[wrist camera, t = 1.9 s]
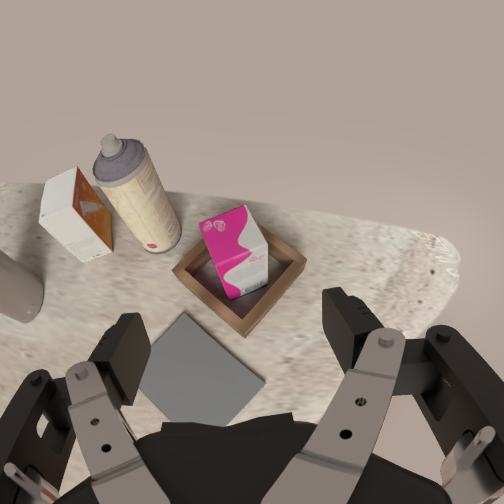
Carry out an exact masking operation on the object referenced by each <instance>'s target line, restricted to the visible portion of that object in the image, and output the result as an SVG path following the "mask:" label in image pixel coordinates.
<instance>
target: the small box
mask: <svg viewBox="0 0 504 504" xmlns="http://www.w3.org/2000/svg"><path fill="white" fill-rule="evenodd" d="M39 224H40V225H42V226H43V227H44V228H45V229H46V230H47V231H48V232H49V233H50V234H51V235H52V236H53V237H54V238H55V239H56V240H57V241H58V242H60V243H61V244H62V245H63V246H64V247H65V248H66V249H67V250H68V251H70V252H71V253H72V254H73V255H74V256H75V257H76V258H78V259H79V260H80V261H81V262H82V263H84V262H87V261H90V260H93V259H96V258H98V257H101V256H104V255H107V254H110V253H112V252H113V248H112V236H111V214H110V213H109V211H108V210H107V208H106V207H105V206H104V204H103V203H102V202H101V200H100V199H99V197H98V196H97V194H96V193H95V192H94V190H93V189H92V187H91V186H90V184H89V183H88V181H87V180H86V178H85V177H84V175H83V174H82V173H81V171H80V169H79V168H78V166H76V167H74V168H72V169H69V170H68V171H65V172H63V173H61V174H59V175H57V176H55V177H52V178H50V179H49V180H46V183H45V187H44V192H43V196H42V200H41V208H40V215H39Z"/></svg>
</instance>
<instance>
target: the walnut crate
mask: <svg viewBox="0 0 504 504" xmlns="http://www.w3.org/2000/svg"><path fill="white" fill-rule="evenodd" d="M235 209H236V208H235ZM256 224H257V223H256ZM257 225H258V227H259V229H260V231H261V232H262V234H263V236H264V238H265V239H266V241H267V243H268V254H270V255H271V256H272V257H274V258H275V259H276V260H278V261H279V262H280V263H282V264H283V265H285V266H286V267H287V269H286V270H285V272H284V273H283V274H282V275H281V276H280V277H279V279H278V280H277V281H276V282H275V283H274V284H273V285H272V287H271V288H270V289H269V290H268V291H267V292H266V293H265V295H264V296H263V297H262V298H261V299H260V300H259V301H258V303H257V304H256V305H255V306H254V307H253V308H252V309H251V310H250V312H249V313H248V314H247V315H246V316H245V317H244V318H243V319H241V318H240V317H238V316H237V315H236V314H235V313H234V312H232V311H231V310H230V309H229V308H228V307H226V306H225V305H224V304H223V303H222V302H221V301H219V300H218V299H217V298H216V297H215V296H214V295H213V294H211V293H210V292H209V291H208V290H207V289H206V288H204V287H203V286H202V285H201V284H200V283H199V282H198V281H197V280H195V279H194V278H193V276H194V275H195V274H196V273H197V272H198V271H199V270H200V269H201V268H202V267H203V266H204V265H205V264H206V263H207V262H208V260H209V259H210V258H211V256H210V253H209V251H208V248H207V245H206V243H205V240H204V239H203V240H202V241H201V242H200V243H199V244H198V245H197V246H195V247H194V248H193V249H192V250H191V251H190V252H189V253H188V254H187V255H186V256H185V257H184V258H183V259H182V260H181V261H180V262H179V263H178V264H177V265H176V266H175V267H174V268H173V269H172V271H173V273H174V274H175V276H176V277H177V278H178V280H179V281H180V282H181V283H183V284H184V285H185V286H186V287H187V288H188V289H189V290H190V291H191V292H192V293H193V294H195V295H196V296H197V297H198V298H199V299H200V300H201V301H202V302H203V303H205V304H206V305H207V306H208V307H209V308H210V309H211V310H212V311H214V312H215V313H216V314H217V315H218V316H219V317H220V318H222V319H223V320H224V321H225V322H226V323H227V324H229V325H230V326H231V327H232V328H233V329H234V330H236V331H237V332H238V333H239V334H240V335H242V336H243V337H244V338H246V337H247V336H248V334H249V333H250V332H251V331H252V330H253V329H254V328H255V326H256V325H257V324H258V323H259V322H260V321H261V320H262V318H263V317H264V316H265V315H266V314H267V313H268V312H269V310H270V309H271V308H272V307H273V306H274V305H275V303H276V302H277V301H278V300H279V299H280V298H281V296H282V295H283V294H284V293H285V292H286V290H287V289H288V288H289V287H290V286H291V284H292V283H293V282H294V281H295V280H296V278H297V277H298V276H299V275H300V274H301V272H302V271H303V270H304V267H305V264H306V261H307V259H306V258H305V257H304V256H302V255H301V254H299V253H298V252H297V251H295V250H294V249H293V248H291V247H290V246H288V245H287V244H286V243H284V242H283V241H281V240H280V239H279V238H277V237H276V236H274V235H273V234H271V233H270V232H269V231H267V230H266V229H264V228H263V227H262V226H260V225H259V224H257Z"/></svg>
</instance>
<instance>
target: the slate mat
mask: <svg viewBox="0 0 504 504" xmlns="http://www.w3.org/2000/svg"><path fill="white" fill-rule="evenodd" d="M265 384H266V383H265V382H263V381H262V380H261V379H260V378H258V377H257V376H256V375H255V374H253V373H252V372H251V371H250V370H249V369H247V368H246V367H245V366H244V365H242V364H241V363H240V362H239V361H238V360H237V359H235V358H234V357H233V356H232V355H231V354H230V353H228V352H227V351H226V350H225V349H224V348H223V347H221V346H220V345H219V344H218V343H217V342H216V341H215V340H214V339H212V338H211V337H210V336H209V335H208V334H207V333H206V332H205V331H204V330H202V329H201V328H200V327H199V326H198V325H197V324H196V323H195V322H194V321H193V320H192V319H191V318H189V317H188V316H187V315H186V314H185V313H183V314H182V315H181V316H180V318H179V319H178V320H177V321H176V322H175V323H174V324H173V325H172V326H171V327H170V328H169V329H168V330H167V331H166V332H165V333H164V334H163V336H162V337H161V338H160V339H159V340H158V341H157V342H156V343H155V344H154V345H153V346H152V347H151V354H150V357H149V360H148V362H147V365H146V368H145V371H144V373H143V376H142V379H141V382H140V385H139V389H140V390H141V391H142V392H143V393H144V394H145V396H146V397H147V398H148V399H149V400H150V401H151V402H152V403H153V404H154V405H155V406H156V407H157V408H158V409H159V410H160V411H161V412H162V413H163V414H164V415H165V416H166V417H167V418H168V419H169V420H170V421H171V422H195V423H201V424H207V425H214V426H221V427H225V426H226V425H227V424H228V423H229V422H230V421H231V420H232V419H233V418H234V417H235V416H236V415H237V414H238V413H239V412H240V411H241V410H242V409H243V408H244V407H245V405H246V404H247V403H248V402H249V401H250V400H251V399H252V398H253V397H254V396H255V395H256V394H257V392H258V391H259V390H260V389H261V388H262V387H263V386H264V385H265Z"/></svg>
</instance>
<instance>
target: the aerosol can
mask: <svg viewBox="0 0 504 504" xmlns="http://www.w3.org/2000/svg"><path fill="white" fill-rule="evenodd" d="M101 145H102V147H103V148H102V150H101V151H100V154H99V155H98V157H97V159H96V161H95V162H94V166H93V175H94V176H95V179H96V182H97V183H98V185H99V186H100V188H101V189H102V191H103V192H104V194H105V195H106V196H107V198H108V199H109V201H110V202H111V204H112V205H113V207H114V208H115V209H116V211H117V212H118V214H119V215H120V216H121V218H122V219H123V221H124V222H125V223H126V225H127V226H128V227H129V229H130V230H131V231H132V233H133V234H134V235H135V237H136V238H137V239H138V241H139V242H140V243H141V245H142V246H143V247H144V249H145V250H146V251H148V252H150V253H153V254H162V253H165V252H168V251H170V250H171V249H172V248H173V247H175V246H176V244H177V243H178V241H179V240H180V237H181V226H180V224H179V221H178V219H177V217H176V215H175V213H174V211H173V208H172V206H171V204H170V202H169V200H168V197H167V195H166V193H165V191H164V189H163V186H162V184H161V181H160V179H159V177H158V175H157V172H156V170H155V168H154V165H153V163H152V161H151V158H150V156H149V153H148V151H147V149H146V148H145V147H144V145H143V143H142V142H140V141H139V140H136V139H117V138H116V136H115V135H114V134H108V135H106V136H105V137H104V138H103V139H102V140H101Z"/></svg>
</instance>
